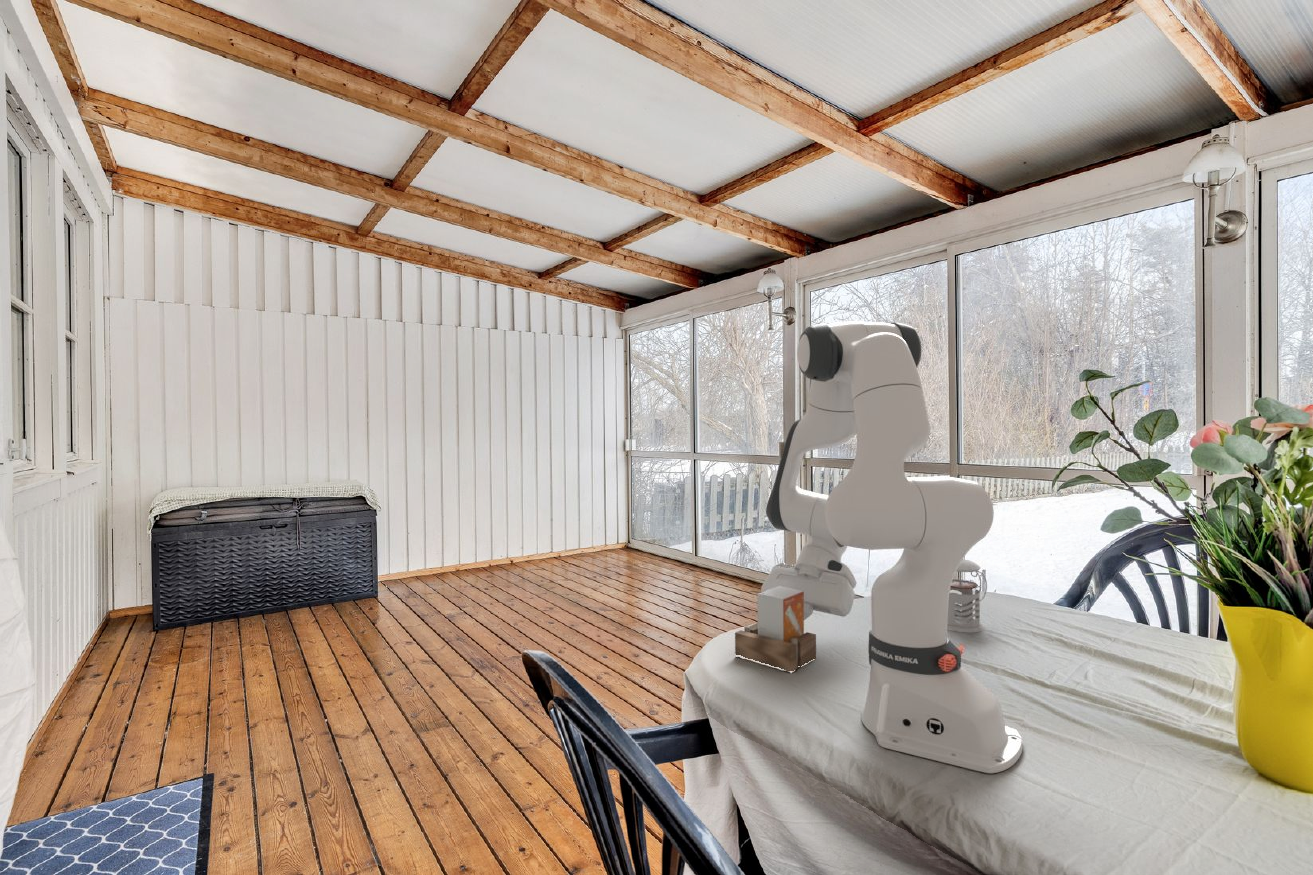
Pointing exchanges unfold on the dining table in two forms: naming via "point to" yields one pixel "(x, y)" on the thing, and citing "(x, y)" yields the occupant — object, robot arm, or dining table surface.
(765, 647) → the brown u-shaped piece
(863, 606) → the dining table surface
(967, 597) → the french press
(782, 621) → the small box
